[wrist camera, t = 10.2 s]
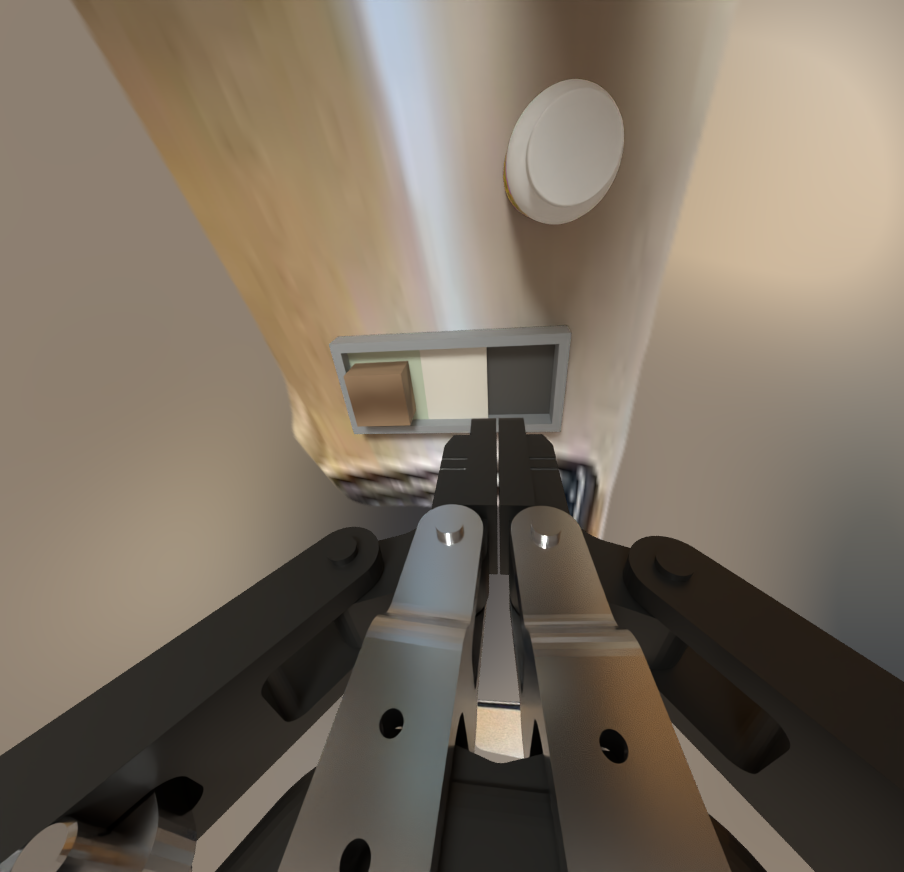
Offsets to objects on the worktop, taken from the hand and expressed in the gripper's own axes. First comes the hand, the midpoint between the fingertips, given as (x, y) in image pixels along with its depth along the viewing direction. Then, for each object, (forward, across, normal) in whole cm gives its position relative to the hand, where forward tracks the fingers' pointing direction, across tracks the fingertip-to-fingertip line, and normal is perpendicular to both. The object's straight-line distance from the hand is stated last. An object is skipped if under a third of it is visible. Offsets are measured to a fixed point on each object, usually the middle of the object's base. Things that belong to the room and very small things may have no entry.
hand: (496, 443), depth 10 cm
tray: (+27, +5, +10) cm, 29 cm away
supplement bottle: (+27, -4, -8) cm, 29 cm away
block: (+26, +12, +10) cm, 31 cm away
